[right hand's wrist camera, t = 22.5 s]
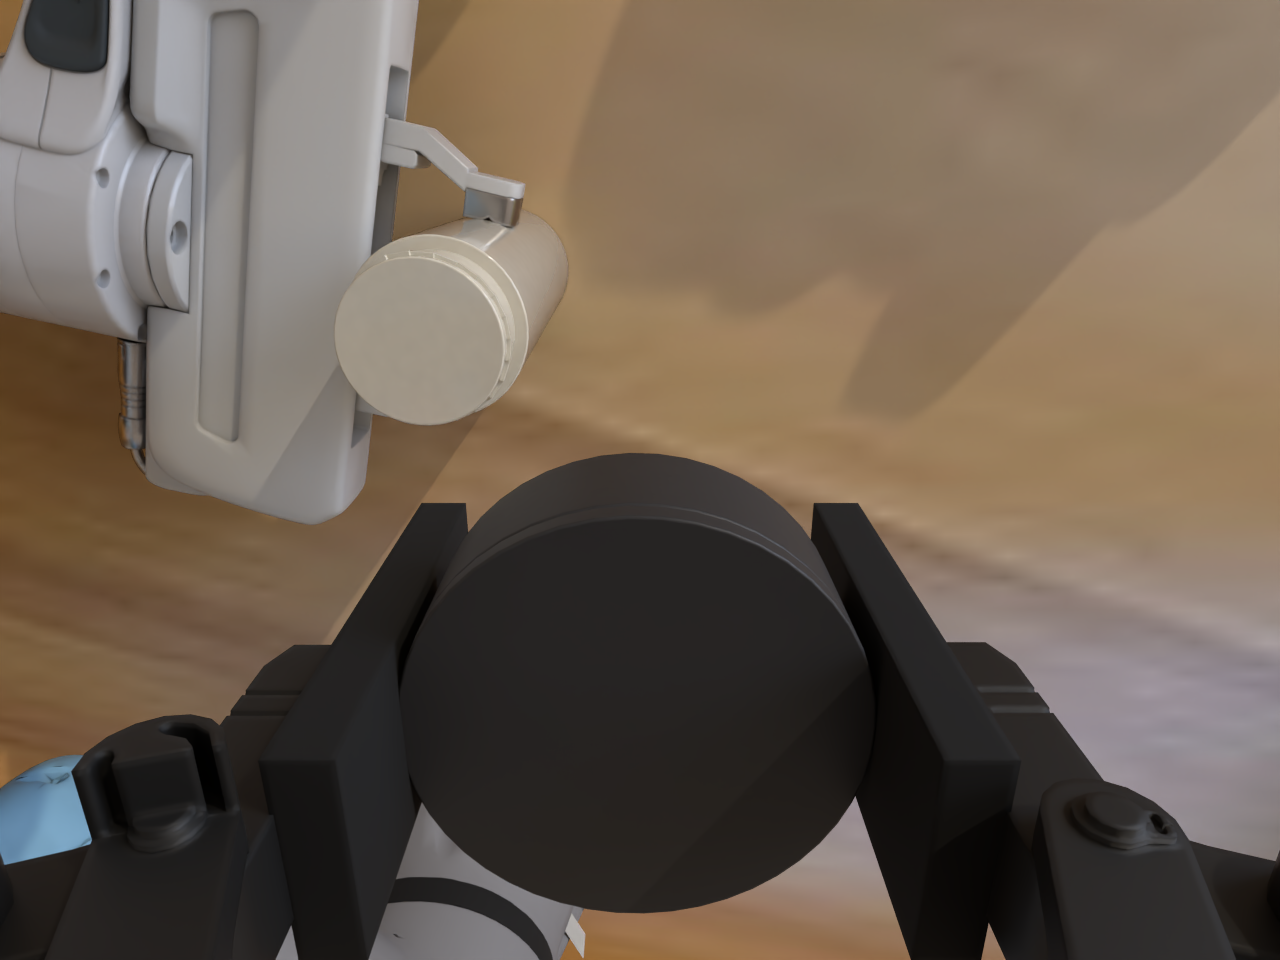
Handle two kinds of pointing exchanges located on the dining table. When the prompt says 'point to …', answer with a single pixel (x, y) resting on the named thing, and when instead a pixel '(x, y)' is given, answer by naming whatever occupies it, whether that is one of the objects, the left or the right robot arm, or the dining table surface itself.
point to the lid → (637, 688)
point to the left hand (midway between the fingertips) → (505, 296)
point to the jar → (449, 316)
